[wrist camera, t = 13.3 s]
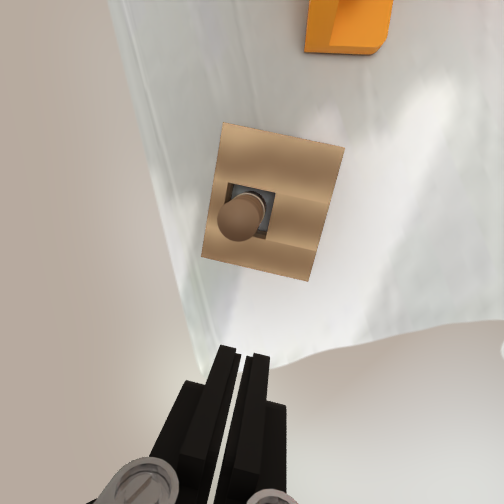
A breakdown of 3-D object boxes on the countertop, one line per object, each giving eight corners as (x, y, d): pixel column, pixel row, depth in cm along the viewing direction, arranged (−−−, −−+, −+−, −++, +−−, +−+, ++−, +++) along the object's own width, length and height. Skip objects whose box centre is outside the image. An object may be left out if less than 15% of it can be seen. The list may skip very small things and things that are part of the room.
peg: (238, 187, 35) (220, 194, 26) (270, 194, 35) (264, 204, 25) (232, 219, 36) (212, 237, 27) (263, 226, 36) (255, 247, 26)
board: (230, 127, 33) (223, 122, 30) (338, 150, 33) (345, 147, 29) (209, 247, 37) (201, 256, 34) (305, 269, 37) (308, 281, 33)
